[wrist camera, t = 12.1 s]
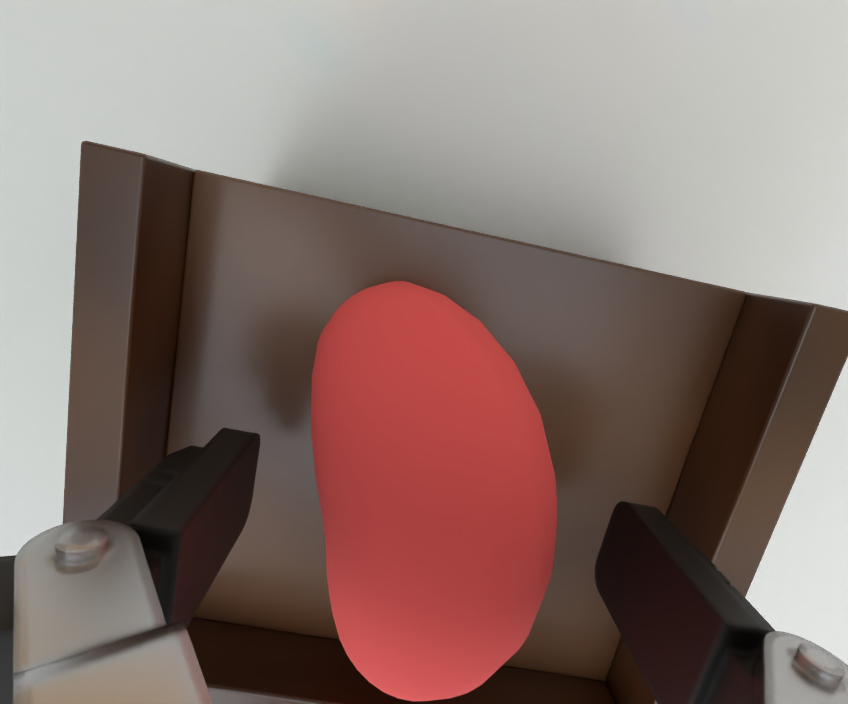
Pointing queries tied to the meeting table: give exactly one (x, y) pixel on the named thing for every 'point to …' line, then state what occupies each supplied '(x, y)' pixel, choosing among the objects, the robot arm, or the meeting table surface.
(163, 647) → the robot arm
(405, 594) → the red rounded oblong piece
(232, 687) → the rack
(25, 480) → the meeting table surface
